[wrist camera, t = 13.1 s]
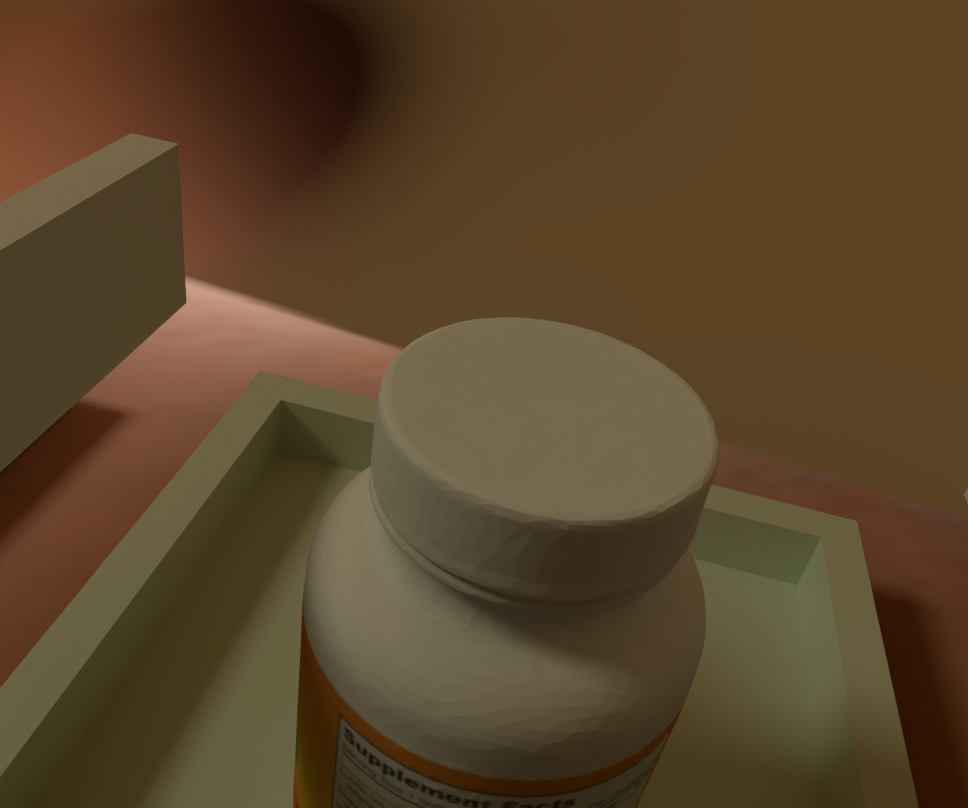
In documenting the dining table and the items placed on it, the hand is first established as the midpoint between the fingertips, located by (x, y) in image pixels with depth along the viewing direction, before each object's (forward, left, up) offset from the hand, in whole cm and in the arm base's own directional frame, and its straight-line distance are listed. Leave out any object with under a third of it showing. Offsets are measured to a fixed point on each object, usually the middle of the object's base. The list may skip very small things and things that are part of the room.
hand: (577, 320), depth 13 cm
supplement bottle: (0, +3, -9) cm, 10 cm away
